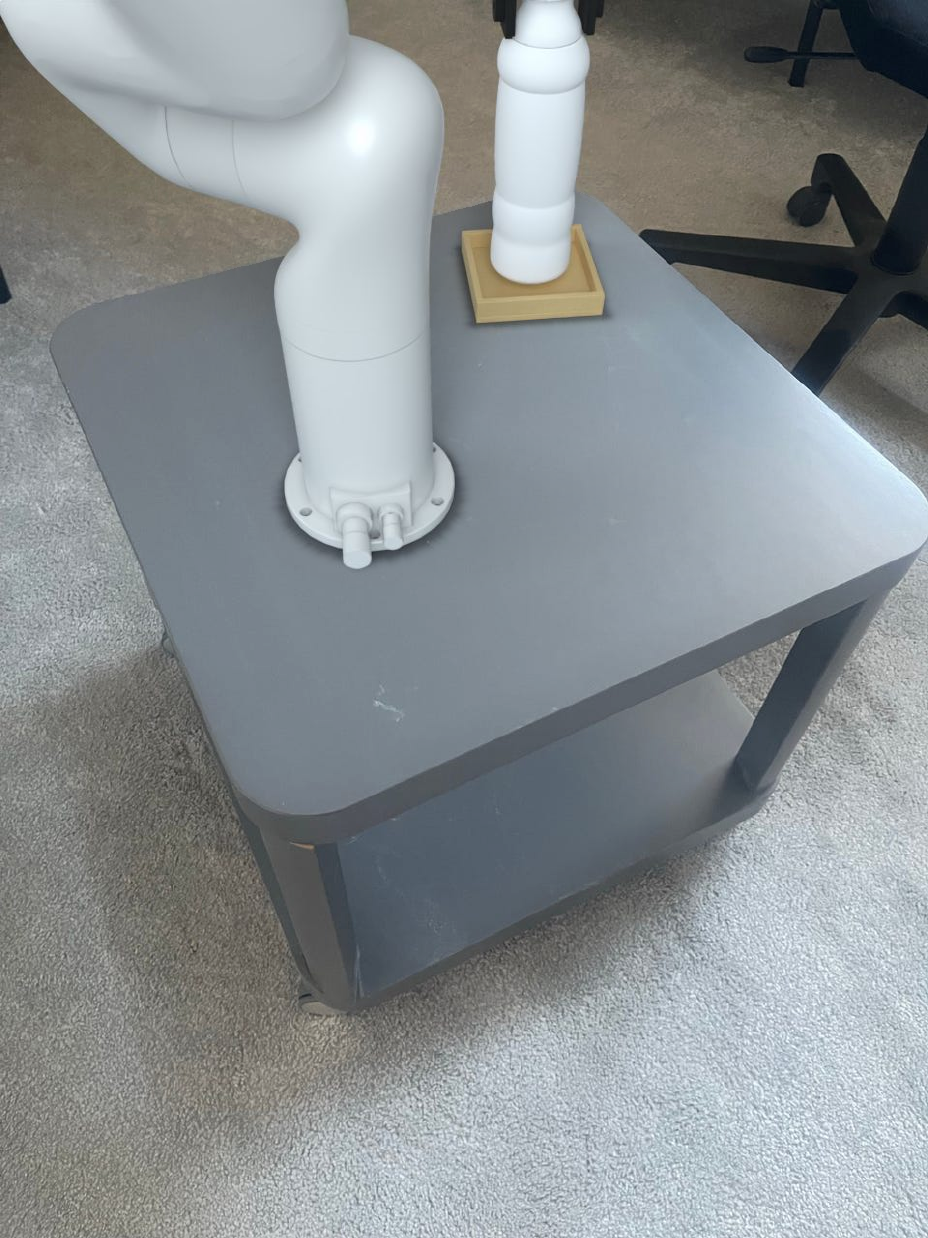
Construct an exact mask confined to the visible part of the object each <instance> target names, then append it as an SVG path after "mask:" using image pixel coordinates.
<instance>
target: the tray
mask: <svg viewBox="0 0 928 1238" xmlns="http://www.w3.org/2000/svg"><path fill="white" fill-rule="evenodd" d="M492 232H493V228H489V229H488V228H487V229H472V230H471V229H470V230H462V231H461V253H462V258H463V263H464V268H465V272H466V278H467V284H468V288H469V292H470V297H471V298H470V299H471V302H472V307H473V314H474V317H475V322H476V324H486V323H487V324H488V323H503V322H516V321H517V322H518V321H534V320H548V319H562V318H565V319H566V318H578V317H593V316H594V317H595V316H602V315H603V312H604V305H605V298H606V293H605V290H604V287H603V285H602V282H601V279H600V276H599V274H598V271H597V267H596V265H595V261H594V258H593V255H592V252H591V249H590V247H589V246H590V245H589V243H588V241H587V238H586V235H585V231H584V229H583V226H582V223H572V226H571V252H570V261H569V265H568V267H567V269H566V270H565V272H564V273H563V274H562V275H560V276H559V277H558V278H556V279H554V280H552V281H549V282H546V283H542V284H521V283H516V282H513V281H511V280H508V279H506V278H505V277H503V276H502V275H500V274H499V273H498V272H497V271H496V270H495V269H494V267H493V265H492V262H491V239H492Z"/></svg>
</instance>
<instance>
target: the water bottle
mask: <svg viewBox="0 0 928 1238" xmlns="http://www.w3.org/2000/svg"><path fill="white" fill-rule="evenodd" d="M590 65H591V55H590V48H589V45H588V41H587V39H586V35H585V34H584V33H583V30H582V26H581V21H580V18H579V16H578V11H577V10H576V7H575V0H520V3H519V6H518V7H517V8H516V29H515V37H513V38H512V39H505V37H504V36H503V37H502V39H501V42H500V44H499V47H498V49H497V57H496V66H497V71H498V74H499V75H498V76H499V77H498V83H497V92H496V93H497V94H496V104H495V121H494V153H493V154H494V156H493V157H494V183H495V187H494V191H493V197H492V205H491V206H492V209H491V210H492V213H491V214H492V222H493V227H492V229H493V232H492V239H491V262H492V265H493V267H494V269H495V270H496V271H497V272H498V273H499V274H500V275H502V276H503V277H505V278H506V279H508V280H511V281H513V282H516V283H521V284H542V283H546V282H549V281H552V280H554V279H556V278H558V277H559V276H560V275H562V274H563V273H564V272H565V270H566V269H567V267H568V265H569V261H570V252H571V226H572V224H573V223H574V219H575V218H574V217H575V211H576V210H575V209H576V192H575V187H576V182H577V178H578V172H579V164H580V158H581V150H582V140H583V132H584V120H585V105H586V79H587V77H588V75H589V70H590Z"/></svg>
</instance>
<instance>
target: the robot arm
mask: <svg viewBox="0 0 928 1238" xmlns="http://www.w3.org/2000/svg"><path fill="white" fill-rule="evenodd" d="M605 1H606V0H578V3H577V14H578V16H579V18H580V21H581V26H582V31H583V33H584V35H585V36H589V37H591V36H595V31H596V22H597V19H600V18H601V19H602V18H603V16H604V11H605V10H604V9H605ZM517 4H518V0H492V5H491V6H492V20H493V22H494V23H499V25H500V28H501V31H502V34H503V38H504V37H505V39H512V38H513V37H515V29H516V10H517V8H518V7H517ZM349 17H350V16H349V11H348V5H347V1H346V0H0V18H1V19H2V21H3V24H4V25H5V27H6V29H7V31H8V33H9V35H10V37H11V38H12V41H14V43H15V45H16V46H17V47H18V49H19V50H20V52H21V53H22V54H23V56H24V57H25V58H26V60H27V61H28V62H29V63H30V64H31V66H32V67H33V68H34V69H35V70H36V71H37V72H38V73H39V74H40V75H41V76H43V78H45V79H46V80H47V81H48V82H49V83H50V84H51V85H52V86H53V87H54V88H55V89H56V90H58V92H59V93H60V94H62V95H63V96H64V97H65V98H66V99H68V101H69V102H71V103H72V104H73V105H74V106H76V107H77V108H78V109H79V110H80V111H81V112H82V113H84V114H85V115H86V116H87V117H88V118H89V119H90V120H91V121H93V122H94V123H95V124H96V125H97V126H98V127H99V128H101V130H103V131H104V132H105V133H106V134H107V135H108V136H109V137H110V138H112V139H113V140H114V141H115V142H117V143H118V144H119V145H120V146H121V147H122V148H124V149H125V150H126V151H127V152H128V153H129V154H130V155H132V156H133V157H134V158H135V159H136V160H137V161H139V162H140V163H141V164H142V165H144V166H145V167H146V168H148V169H149V170H151V171H152V172H154V173H155V174H157V175H158V176H160V177H161V178H163V179H165V180H167V181H169V182H170V183H173V184H175V185H177V186H179V187H182V188H184V189H187V190H190V191H193V192H197V193H199V194H203V195H206V196H209V197H213V198H216V199H220V200H223V201H227V202H229V203H234V204H237V205H240V206H243V207H248V208H250V209H253V210H258V211H260V212H263V213H264V214H267V215H270V216H274V217H277V218H280V219H282V220H285V221H287V222H289V223H290V224H291V225H293V226H294V227H295V228H296V229H297V232H298V236H299V237H298V240H297V241H296V242H295V243H294V245H292V247H291V248H290V249H289V250H288V252H287V253H286V254H285V255H284V258H283V259H282V261H281V263H280V264H279V267H278V269H277V270H276V271H277V272H276V275H275V279H274V287H273V290H274V291H273V292H274V293H273V299H274V309H275V314H276V320H277V326H278V329H279V335H280V340H281V341H280V342H281V346H282V347H281V348H282V353H283V359H284V365H285V370H286V377H287V378H286V379H287V383H288V389H289V394H290V395H289V396H290V401H291V407H292V413H293V414H292V415H293V420H294V425H295V432H296V437H297V444H298V450H299V452H298V453H297V454H296V455H295V456H294V457H293V459H292V460H291V462H290V464H289V466H288V468H287V470H286V474H285V477H284V496H285V501H286V507H287V510H288V511H289V513H290V516H291V518H292V519H293V520H294V522H295V523H296V524H297V525H298V527H299V528H300V529H301V530H302V531H304V532H305V533H306V534H308V536H310V537H311V538H313V539H315V540H317V541H318V542H321V543H323V544H325V545H328V546H331V547H333V548H336V549H341V550H342V558H343V564H344V565H345V566H346V567H347V568H350V569H353V570H358V569H359V570H361V569H364V568H366V567H368V566H369V565H370V564H371V563H372V559H373V555H372V552H379V551H388V550H389V551H396V550H399V549H401V548H402V547H403V546H406V545H409V544H410V543H413V542H416V541H417V540H419V539H421V538H423V537H424V536H426V535H427V534H429V533H430V532H432V531H433V530H435V528H436V527H437V526H438V525H439V524H440V523H441V522H442V521H443V520H444V519H445V517H446V516H447V514H448V513H449V511H450V509H451V507H452V504H453V501H454V498H455V491H456V484H455V483H456V482H455V481H456V479H455V471H454V469H453V468H454V467H453V465H452V464H453V463H452V462H451V460H450V458H449V457H448V455H447V454H446V452H445V451H444V450H443V449H442V448H441V446H439V445H438V444H437V442H435V441H434V435H433V432H434V431H433V394H432V393H433V392H432V391H433V389H432V353H431V351H432V350H431V348H432V346H431V309H430V308H431V307H430V302H431V301H430V253H431V252H430V251H431V234H432V225H433V215H434V208H435V202H436V201H435V200H436V195H437V194H436V193H437V189H438V183H439V177H440V171H441V164H442V160H443V153H444V152H443V151H444V144H445V113H444V107H443V104H442V100H441V99H442V98H441V96H440V94H439V91H438V89H437V87H436V85H435V84H434V82H433V80H432V79H431V78H430V76H429V75H428V74H427V72H425V70H424V69H422V67H421V66H420V65H419V64H417V63H416V62H415V61H414V60H412V59H411V58H409V57H408V56H407V55H405V54H402V52H399V51H398V50H396V49H394V48H392V47H389V46H387V45H385V44H382V43H380V42H377V41H374V40H371V39H367V38H366V37H362V36H358V35H353V34H350V18H349Z"/></svg>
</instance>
